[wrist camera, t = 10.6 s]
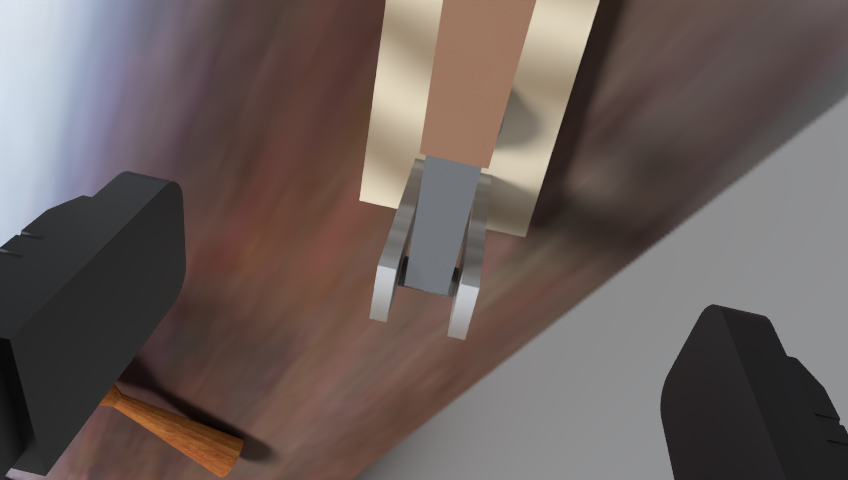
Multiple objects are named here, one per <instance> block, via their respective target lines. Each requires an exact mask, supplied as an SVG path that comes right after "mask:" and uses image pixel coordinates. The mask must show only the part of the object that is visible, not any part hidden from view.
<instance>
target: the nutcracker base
mask: <svg viewBox="0 0 848 480" xmlns="http://www.w3.org/2000/svg"><path fill="white" fill-rule="evenodd" d="M599 1H600V0H536V4H535V7H534V11H533V14H532V18H531V22H530V25H529V29H528V32H527V36H526V39H525V43H524V46H523V50H522V53H521V57H520V60H519V64H518V67H517V71H516V74H515V78H514V81H513V85H512V88H511V92H510V95H509V99H508V102H507V106H506V109H505V113H504V116H503V120H502V123H501V127H500V130H499V134H498V137H497V141H496V144H495V148H494V151H493V155H492V158H491V162H490V165H489V169H487V168H482V169H481V173H480V176H479V180H478V184H477V187H476V191H475V195H474V198H473V202H472V206H471V209H470V213H469V217H468V220H467V224H466V228H465V233H464V239H463V245H462V251H461V257H460V263H459V268H460V269H459V275H458V280H457V285H456V289H455V293H454V299H453V305H452V311H451V317H450V323H449V330H448V336H450V337H454V338H459V339H463V340H465V338H466V334H467V330H468V327H469V323H470V320H471V316H472V313H473V309H474V306H475V302H476V298H477V295H478V291H479V287H480V278H481V269H482V261H483V252H484V243H485V234H486V229H490V230H494V231H499V232H503V233H508V234H512V235H517V236H521V237H526V233H527V230H528V227H529V224H530V221H531V217H532V214H533V211H534V208H535V205H536V202H537V198H538V195H539V192H540V189H541V186H542V182H543V179H544V176H545V173H546V170H547V167H548V163H549V160H550V157H551V154H552V151H553V147H554V144H555V141H556V138H557V135H558V132H559V128H560V125H561V122H562V119H563V116H564V112H565V109H566V106H567V103H568V100H569V97H570V93H571V90H572V87H573V84H574V81H575V77H576V74H577V71H578V68H579V65H580V62H581V58H582V55H583V52H584V49H585V46H586V42H587V39H588V36H589V33H590V30H591V26H592V23H593V20H594V17H595V14H596V11H597V7H598V4H599ZM442 3H443V0H386V6H385V14H384V21H383V29H382V36H381V44H380V51H379V58H378V66H377V73H376V81H375V88H374V96H373V103H372V111H371V118H370V126H369V133H368V141H367V148H366V156H365V163H364V171H363V178H362V186H361V193H360V201H364V202H369V203H373V204H378V205H382V206H387V207H391V208H396V209H397V212H396V215H395V218H394V221H393V224H392V227H391V229H390V232H389V235H388V238H387V241H386V244H385V247H384V249H383V252H382V255H381V258H380V261H379V264H378V268H377V274H376V280H375V286H374V293H373V299H372V305H371V311H370V317H369V318H371V319H375V320H379V321H384V322H387V319H388V316H389V312H390V309H391V305H392V302H393V299H394V295H395V292H396V288H397V285H398V281H399V276H400V271H401V267H402V263H403V259H404V256H406V254H407V251H408V247H409V244H410V240H411V237H412V233H413V230H414V224H415V218H416V212H417V206H418V200H419V194H420V188H421V182H422V176H423V170H424V164H425V158H426V155H423V154H419V153H420V146H421V140H422V133H423V127H424V120H425V114H426V107H427V101H428V94H429V88H430V81H431V75H432V68H433V62H434V55H435V49H436V42H437V36H438V29H439V23H440V16H441V10H442Z"/></svg>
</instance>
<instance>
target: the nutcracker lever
mask: <svg viewBox="0 0 848 480" xmlns="http://www.w3.org/2000/svg"><path fill="white" fill-rule="evenodd" d="M535 4H536V0H443V3H442V10H441V16H440V23H439V29H438V36H437V42H436V49H435V55H434V62H433V68H432V75H431V81H430V88H429V94H428V101H427V107H426V114H425V120H424V127H423V133H422V140H421V146H420V153H419V154H423V155H426V158H425V164H424V170H423V176H422V182H421V188H420V194H419V200H418V206H417V212H416V218H415V224H414V230H413V236H412V242H411V248H410V254H409V257H407V256H404V259H403V263H402V267H401V271H400V276H399V281H398V286H403V287H407V288H411V289H416V290H420V291H425V292H429V293H434V294H438V295H442V296H447V297H451V298H453V297H454V293H455V289H456V285H457V280H458V275H459V269H460V268H456V267H455V264H456V261H457V257H458V253H459V250H460V246H461V242H462V239H463V235H464V231H465V228H466V224H467V220H468V217H469V213H470V209H471V206H472V202H473V198H474V195H475V191H476V187H477V184H478V180H479V176H480V173H481V169H482V168H487V169H489V165H490V162H491V158H492V155H493V151H494V148H495V144H496V141H497V137H498V134H499V130H500V127H501V123H502V120H503V116H504V113H505V109H506V106H507V102H508V99H509V95H510V92H511V88H512V85H513V81H514V78H515V74H516V71H517V67H518V64H519V60H520V57H521V53H522V50H523V46H524V43H525V39H526V36H527V32H528V29H529V25H530V22H531V18H532V14H533V11H534V7H535Z"/></svg>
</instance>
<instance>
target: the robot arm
mask: <svg viewBox="0 0 848 480" xmlns="http://www.w3.org/2000/svg"><path fill="white" fill-rule="evenodd" d="M185 271H186V255H185V233H184V212H183V195H182V190H181V188H180V186H179V184H178V183H176V182H173V181H169V180H164V179H160V178H155V177H151V176H146V175H142V174H138V173H133V172H129V171H126V172H122V173H121V174H119V175H118V176H117V177H115V178H114V179H113V180H112V181H111V182H110V183H108V184H107V185H106V186H105V187H104V188H102V189H101V190H100V191H99V192H98V193H97V194H95V195H94V196H93V197H88V196H84V195H83V196H80V197H78V198H75V199H73V200H70V201H68V202H65V203H63V204H61V205H58V206H56V207H53V208H51V209H48V210H47V211H45V212H44V213H43V214H42V215H40V216H39V217H38V218H37V219H35V220H34V221H33V222H32V223H30V224H29V225H28V226H27V227H25V228H24V229H23V230H22V231H21V235H20V236H19V235H15V236H14V237H13V238H12V239H10V240H9V241H8V242H7V243H5V244H4V245H3V246H1V247H0V480H2V478H3V477H4V476H5V475H6V474H7V472H8V471H9V470H10V469H11V468H13V469H17V470H21V471H26V472H30V473H34V474H38V475H43V476H46V475H47V474H48V472H49V471H50V470H51V468H52V467H53V465H54V464H55V463H56V461H57V460H58V459H59V457H60V456H61V455H62V453H63V452H64V451H65V449H66V448H67V447H68V445H69V444H70V443H71V441H72V440H73V439H74V437H75V436H76V435H77V433H78V432H79V431H80V429H81V428H82V427H83V425H84V424H85V423H86V421H87V420H88V419H89V417H90V416H91V415H92V413H93V412H94V410H95V409H96V408H97V406H98V405H99V404H100V402H101V401H102V400H103V398H104V397H105V396H106V394H107V393H108V392H109V390H110V389H111V388H112V386H113V385H114V384H115V382H116V381H117V380H118V378H119V377H120V376H121V374H122V373H123V372H124V370H125V369H126V368H127V366H128V365H129V364H130V362H131V361H132V360H133V358H134V357H135V355H136V354H137V353H138V351H139V350H140V349H141V347H142V346H143V345H144V343H145V342H146V341H147V339H148V338H149V337H150V335H151V334H152V333H153V331H154V330H155V329H156V327H157V326H158V325H159V323H160V322H161V321H162V319H163V318H164V317H165V315H166V314H167V313H168V311H169V310H170V309H171V307H172V306H173V304H174V303H175V301H176V300H177V298H178V296H179V293H180V291H181V288H182V285H183V282H184V277H185ZM661 418H662V423H663V428H664V433H665V437H666V442H667V447H668V452H669V456H670V461H671V466H672V470H673V475H674V479H675V480H848V433H847V431H846V429H845V427H844V426H843V425H840V424H839V421H840V418H839V416H838V414H837V412H836V410H835V408H834V406H833V404H832V402H831V400H830V398H829V396H828V394H827V392H826V390H825V388H824V387H823V386H822V385H821V384H820V383H819V382H818V381H817V380H816V379H815V378H814V376H812V374H811V373H810V372H809V371H808V370H807V369H806V368H805V367H804V366H803V365H802V364H801V363H800V362H799V360H798V359H796V358H793V357H789V356H787V355H786V353H785V351H784V349H783V347H782V344H781V342H780V340H779V338H778V336H777V334H776V332H775V329H774V327H773V325H772V323H771V322H770V320H769V319H768V318H767V317H765V316H763V315H759V314H754V313H750V312H745V311H741V310H736V309H731V308H727V307H723V306H718V305H714V304H713V305H710V306H708V307H707V308H705V309H704V311H703V312H702V313H701V315H700V317H699V319H698V320H697V322H696V324H695V326H694V328H693V329H692V331H691V333H690V335H689V337H688V339H687V340H686V342H685V344H684V346H683V348H682V349H681V351H680V353H679V355H678V357H677V359H676V360H675V362H674V364H673V366H672V368H671V370H670V371H669V373H668V375H667V377H666V380H665V383H664V386H663V390H662V395H661Z"/></svg>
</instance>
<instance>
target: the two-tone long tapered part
mask: <svg viewBox="0 0 848 480" xmlns="http://www.w3.org/2000/svg"><path fill="white" fill-rule="evenodd" d="M98 406H112V407H115V408H116V409H118V410H119V411H121V412H122V413H124V414H125V415H127V416H128V417H130V418H131V419H133V420H135V421H136V422H138V423H139V424H141V425H142V426H144V427H145V428H147V429H148V430H150V431H151V432H153V433H154V434H156V435H157V436H159V437H160V438H162V439H163V440H165V441H166V442H168V443H169V444H171V445H172V446H174V447H175V448H177V449H178V450H180V451H181V452H183V453H184V454H186V455H187V456H189V457H190V458H192V459H193V460H195V461H196V462H198V463H199V464H201V465H202V466H204V467H205V468H207V469H208V470H210V471H211V472H213V473H215V474H216V475H218V476H219V477H221V478H222V477H224V476H225V475H226V474H228V472H229V471H230V470H231V468H232V467H233V465H234V464H235V462H236V461H237V459H238V456H239V454H240V452H241V450H242V447H243V440H242V439H240V438H237V437H235V436H232V435H229V434H227V433H224V432H221V431H219V430H216V429H214V428H211V427H208V426H206V425H203V424H200V423H198V422H195V421H192V420H190V419H187V418H185V417H182V416H179V415H177V414H174V413H171V412H169V411H166V410H163V409H161V408H158V407H156V406H153V405H150V404H148V403H145V402H142V401H140V400H137V399H134V398H132V397H129V396H127V395H124V394H122V393H121V392H120V390H119V389H118V388H117V386H116V385H115V384H114V385H113V386H112V388H111V389H110V390H109V392H108V393H107V394H106V396H105V397H104V398H103V400H102V401H101V402H100V404H99V405H98Z"/></svg>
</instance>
